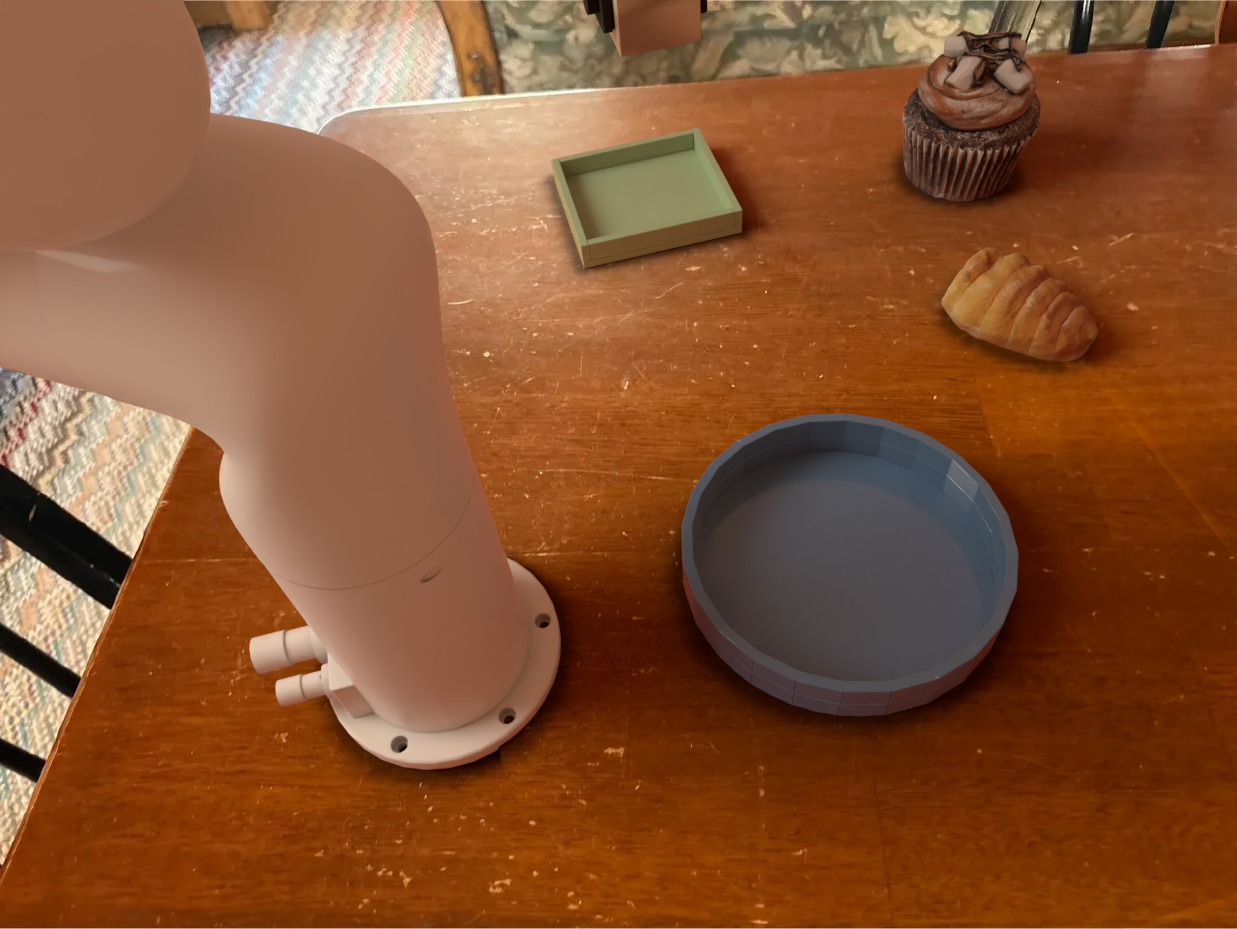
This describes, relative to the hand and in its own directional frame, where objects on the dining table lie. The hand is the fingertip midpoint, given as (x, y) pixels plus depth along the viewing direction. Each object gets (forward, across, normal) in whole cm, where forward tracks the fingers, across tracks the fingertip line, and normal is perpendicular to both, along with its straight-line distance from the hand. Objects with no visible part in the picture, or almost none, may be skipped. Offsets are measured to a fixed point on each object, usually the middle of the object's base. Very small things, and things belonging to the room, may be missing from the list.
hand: (649, 9), depth 57 cm
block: (+1, 0, 0) cm, 1 cm away
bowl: (+17, +2, -31) cm, 35 cm away
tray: (+17, 0, +4) cm, 18 cm away
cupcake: (+18, +24, 0) cm, 30 cm away
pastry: (+18, +20, -16) cm, 31 cm away
